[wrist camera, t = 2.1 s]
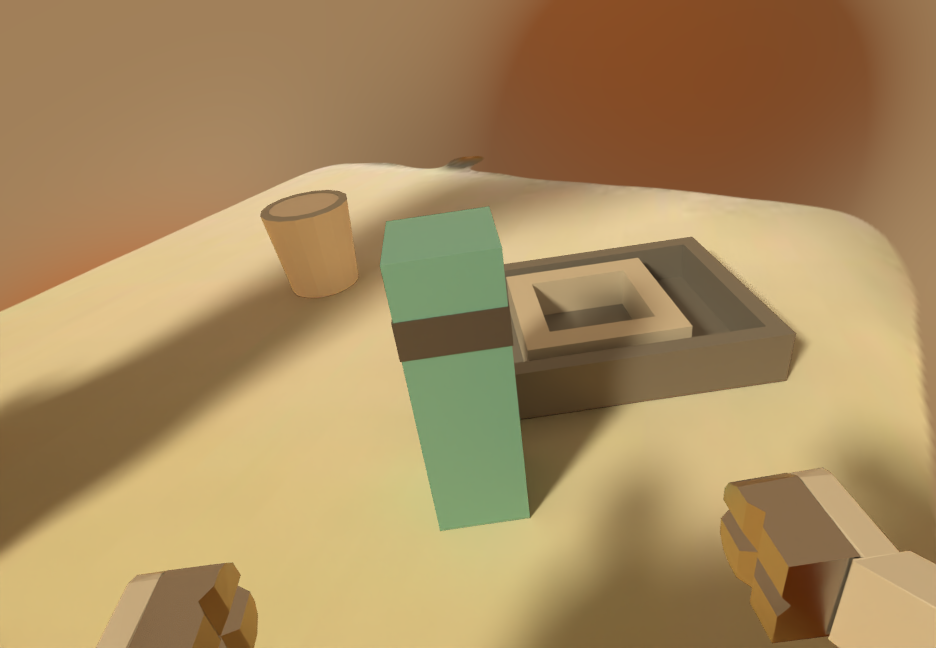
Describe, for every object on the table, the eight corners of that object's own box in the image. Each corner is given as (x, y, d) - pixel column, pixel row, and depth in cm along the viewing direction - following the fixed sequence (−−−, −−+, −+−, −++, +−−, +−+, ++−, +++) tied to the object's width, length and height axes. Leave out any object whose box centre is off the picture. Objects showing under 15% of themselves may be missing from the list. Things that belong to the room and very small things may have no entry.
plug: (439, 531, 25) (378, 266, 19) (436, 464, 29) (384, 221, 22) (531, 518, 25) (503, 248, 19) (517, 453, 29) (490, 205, 22)
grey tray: (454, 428, 31) (446, 384, 29) (445, 310, 42) (439, 273, 40) (786, 380, 31) (796, 333, 29) (689, 274, 42) (692, 236, 40)
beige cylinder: (314, 262, 53) (293, 188, 49) (380, 265, 50) (362, 188, 47) (268, 299, 47) (240, 219, 44) (339, 304, 45) (316, 220, 41)
